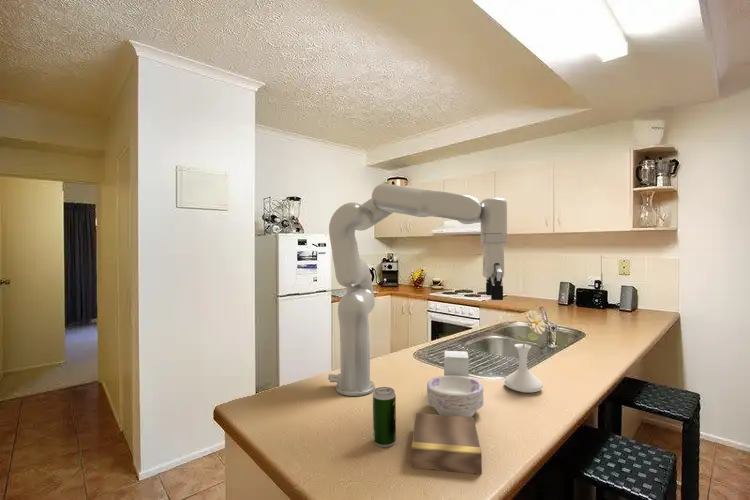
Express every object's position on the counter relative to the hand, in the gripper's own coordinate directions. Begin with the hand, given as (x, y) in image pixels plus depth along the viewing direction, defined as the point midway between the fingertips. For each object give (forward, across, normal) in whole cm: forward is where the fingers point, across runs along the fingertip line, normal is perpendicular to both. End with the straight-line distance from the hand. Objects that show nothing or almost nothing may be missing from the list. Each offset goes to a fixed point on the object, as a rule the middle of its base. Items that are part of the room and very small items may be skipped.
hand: (494, 297), depth 107 cm
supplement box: (+31, -2, -11) cm, 33 cm away
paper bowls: (+31, +10, -12) cm, 35 cm away
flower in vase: (+31, -10, +11) cm, 34 cm away
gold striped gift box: (+30, +29, -16) cm, 45 cm away
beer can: (+31, +28, -29) cm, 51 cm away
